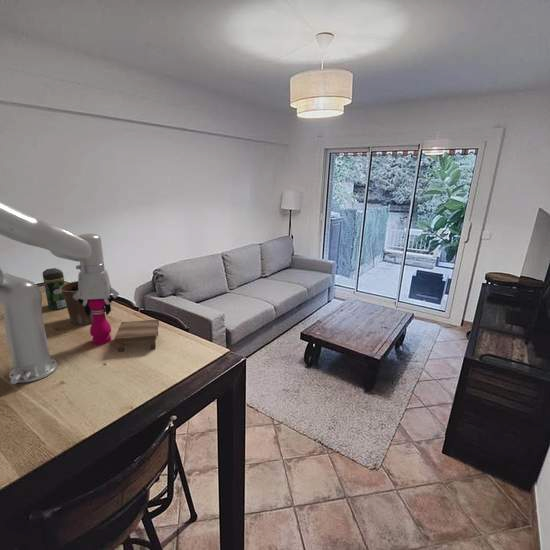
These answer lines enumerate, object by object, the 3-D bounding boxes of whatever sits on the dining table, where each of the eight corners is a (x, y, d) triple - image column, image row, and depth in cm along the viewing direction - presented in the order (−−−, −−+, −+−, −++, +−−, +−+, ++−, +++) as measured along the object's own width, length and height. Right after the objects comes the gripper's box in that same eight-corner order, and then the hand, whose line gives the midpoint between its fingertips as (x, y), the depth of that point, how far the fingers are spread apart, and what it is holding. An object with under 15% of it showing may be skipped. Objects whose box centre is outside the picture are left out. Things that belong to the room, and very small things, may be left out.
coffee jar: (46, 305, 155) (40, 268, 150) (65, 301, 160) (60, 266, 155) (50, 311, 149) (43, 273, 143) (70, 307, 154) (64, 270, 148)
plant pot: (69, 314, 147) (64, 280, 142) (109, 310, 152) (105, 278, 148) (61, 329, 132) (55, 293, 128) (105, 325, 138) (100, 289, 133)
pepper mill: (116, 337, 128) (110, 290, 122) (105, 346, 121) (98, 296, 115) (99, 335, 128) (92, 288, 123) (87, 344, 122) (80, 295, 116)
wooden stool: (156, 349, 120) (155, 335, 118) (115, 353, 116) (114, 338, 115) (159, 332, 133) (158, 319, 131) (123, 335, 129) (121, 322, 128)
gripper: (62, 271, 111) (69, 319, 116) (116, 270, 115) (121, 316, 120) (69, 266, 118) (76, 311, 123) (120, 264, 122) (125, 308, 127)
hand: (98, 313), depth 121 cm, fingers closed on pepper mill, 5 cm apart
